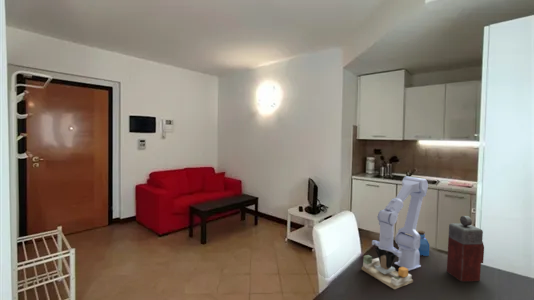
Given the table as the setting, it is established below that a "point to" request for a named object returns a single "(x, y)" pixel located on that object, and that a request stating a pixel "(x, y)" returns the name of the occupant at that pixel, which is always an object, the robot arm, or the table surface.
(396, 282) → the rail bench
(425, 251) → the perfume bottle
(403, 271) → the orange cardboard cube
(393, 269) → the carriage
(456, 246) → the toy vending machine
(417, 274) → the table surface
